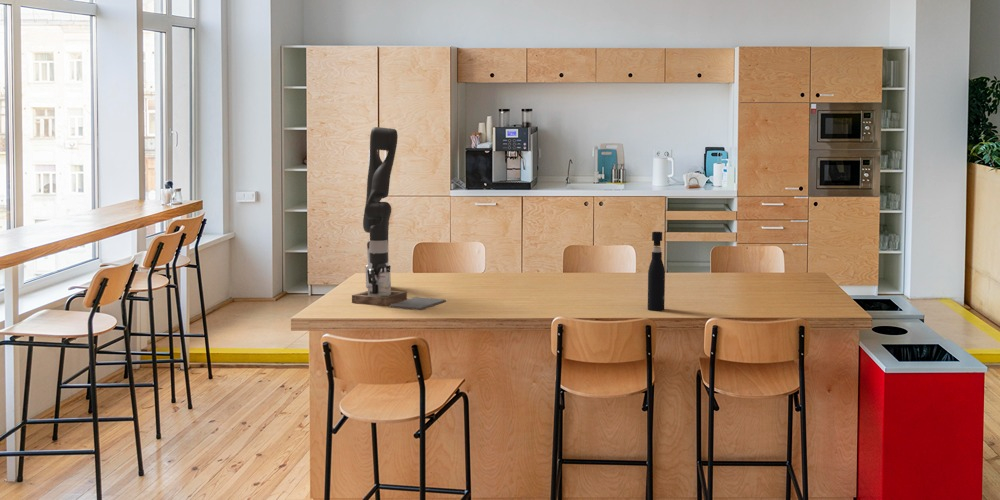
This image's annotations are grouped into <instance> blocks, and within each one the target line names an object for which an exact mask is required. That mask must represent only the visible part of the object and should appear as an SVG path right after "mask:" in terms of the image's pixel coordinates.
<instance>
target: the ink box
mask: <svg viewBox="0 0 1000 500" xmlns="http://www.w3.org/2000/svg"><path fill="white" fill-rule="evenodd" d="M391 276H392V275H391V271H390V272H382V273H380V279H379V280H378V284H377V285H378V294H373V292H372V284H371V283H369V281H368V287H367V291H368V296H378V297H386V296H389V295H391V291H392V284H391V283H392V282H391V280H392V278H391ZM375 277H377V276H376V275H375ZM371 281H372V278H371ZM375 281H376V279H375Z"/></svg>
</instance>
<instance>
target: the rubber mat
mask: <svg viewBox="0 0 1000 500" xmlns="http://www.w3.org/2000/svg"><path fill="white" fill-rule="evenodd" d="M445 302H447V300H446V299H444V298H443V299H441V298H430V297H418V296H415V297H411V298H409V299H408V298H407V299H406V300H403V301H400V302H396V303H393V304H390V305H389V308H397V309H406V310H418V311H420V310H425V309H427V308H431V307H434V306H437V305H439V304H443V303H445Z"/></svg>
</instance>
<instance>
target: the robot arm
mask: <svg viewBox="0 0 1000 500" xmlns="http://www.w3.org/2000/svg"><path fill="white" fill-rule="evenodd" d="M369 136H370V137H369V162H368V164H369V165H368V172H367V179H366V180H367V181H366V198H365V199H366V200H365V206H364V212H363V219H362V228H363V230H364V232H365V233H368V234H369V240H368V241H367V243H366V254H367V258H366V259H367V265H365V288H368V281H369V283H371V284H372V292H373V294H378V285H377V284H378V280H379V279H380V273H382V272H390V273H391V265H390V263H389V261H390V260H389V259H390V258H389V254H390V253H389V228H390V225H389V223H390V218H391V216H392V215H391V214H392V206H391V204H390V203H389V202H388V201H382V199H386V198H387V197H388V196H389V194H390V193H389V191H390V181H391V174H392V169H393V166H394V161H395V156H396V152H397V147H398V146H397V145H398V131H397V130H396V129H395V128H387V127H379V126H374V127H373V128H371V131H370V135H369ZM379 151H384V152H385V151H387V155H386V157H385V159H384V160H383V161H382V159H381V157H380V154H379V153H380V152H379ZM375 275H376V276H377V277H375ZM371 278H372V281H371ZM375 279H376V281H375Z"/></svg>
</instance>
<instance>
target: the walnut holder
mask: <svg viewBox="0 0 1000 500" xmlns="http://www.w3.org/2000/svg"><path fill="white" fill-rule="evenodd" d="M405 300H408V295H407V291H398V290H391V295H389V296H386V297H378V296H368V290H366V291H362V292H358V293H356V294H351V303H353V304H363V305H373V306H374V305H376V306H390V305H392V304H395V303H398V302H401V301H405Z"/></svg>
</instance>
